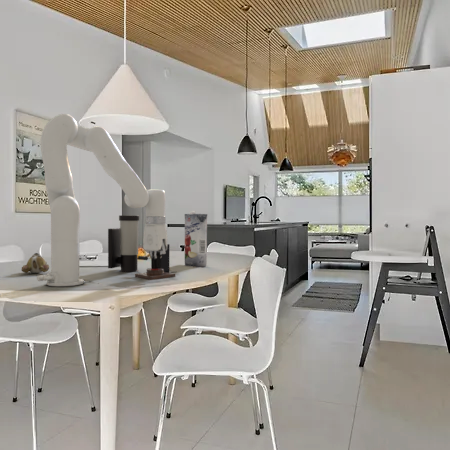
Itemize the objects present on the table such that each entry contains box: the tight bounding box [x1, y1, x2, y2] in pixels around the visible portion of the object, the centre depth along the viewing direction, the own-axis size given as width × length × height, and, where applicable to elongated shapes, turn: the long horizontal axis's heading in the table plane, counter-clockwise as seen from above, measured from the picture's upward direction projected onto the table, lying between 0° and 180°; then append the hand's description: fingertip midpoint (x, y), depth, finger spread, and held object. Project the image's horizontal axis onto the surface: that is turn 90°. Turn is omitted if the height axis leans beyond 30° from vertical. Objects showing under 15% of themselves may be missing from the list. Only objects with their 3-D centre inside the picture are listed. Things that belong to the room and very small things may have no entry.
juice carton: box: [184, 210, 208, 268], centre depth 212 cm, size 9×10×27 cm
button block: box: [134, 267, 176, 281], centre depth 168 cm, size 12×10×4 cm
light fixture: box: [107, 214, 140, 273], centre depth 185 cm, size 12×11×25 cm
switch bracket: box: [145, 243, 176, 274], centre depth 181 cm, size 10×8×13 cm
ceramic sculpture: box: [21, 252, 50, 274], centre depth 185 cm, size 11×9×15 cm
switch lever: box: [137, 253, 150, 261], centre depth 178 cm, size 12×5×2 cm, turn 136°
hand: (155, 268), depth 168 cm, fingers closed
